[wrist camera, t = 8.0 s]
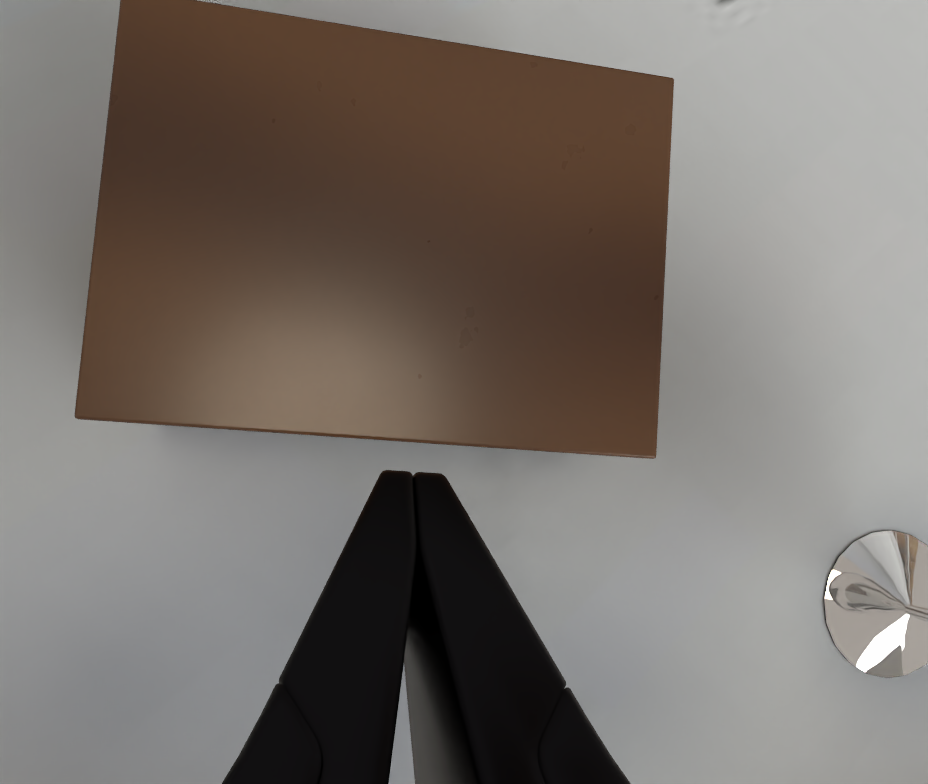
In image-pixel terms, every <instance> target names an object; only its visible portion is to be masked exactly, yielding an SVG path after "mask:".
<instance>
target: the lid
mask: <svg viewBox="0 0 928 784" xmlns="http://www.w3.org/2000/svg"><path fill="white" fill-rule="evenodd" d="M673 87H674V79H673V78H669V77H663V76H657V75H651V74H645V73H638V72H632V71H626V70H620V69H614V68H608V67H602V66H595V65H589V64H583V63H577V62H571V61H565V60H559V59H553V58H546V57H540V56H534V55H528V54H522V53H516V52H510V51H503V50H497V49H491V48H485V47H479V46H473V45H467V44H460V43H454V42H448V41H442V40H436V39H430V38H424V37H417V36H411V35H405V34H399V33H393V32H387V31H381V30H375V29H368V28H362V27H356V26H350V25H344V24H338V23H332V22H325V21H319V20H313V19H307V18H301V17H295V16H289V15H282V14H276V13H270V12H264V11H258V10H252V9H246V8H239V7H233V6H227V5H221V4H215V3H209V2H203V1H197V0H121V1H120V10H119V19H118V28H117V37H116V46H115V55H114V64H113V73H112V82H111V91H110V100H109V109H108V118H107V127H106V136H105V145H104V154H103V163H102V172H101V181H100V190H99V200H98V209H97V218H96V227H95V236H94V245H93V254H92V263H91V272H90V281H89V290H88V299H87V308H86V317H85V326H84V335H83V344H82V353H81V362H80V371H79V380H78V389H77V398H76V407H75V418H77V419H84V420H98V421H113V422H127V423H142V424H156V425H171V426H185V427H200V428H214V429H229V430H243V431H258V432H272V433H287V434H301V435H316V436H330V437H345V438H359V439H374V440H388V441H402V442H417V443H431V444H446V445H460V446H475V447H489V448H504V449H518V450H533V451H547V452H562V453H576V454H591V455H605V456H620V457H634V458H649V459H654V458H656V448H657V427H658V405H659V384H660V363H661V342H662V320H663V299H664V278H665V257H666V236H667V214H668V193H669V172H670V151H671V129H672V108H673Z"/></svg>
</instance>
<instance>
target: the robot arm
mask: <svg viewBox="0 0 928 784" xmlns="http://www.w3.org/2000/svg"><path fill="white" fill-rule="evenodd" d="M403 664H404V666H405V677H406V688H407V699H408V710H409V721H410V732H411V742H412V753H413V764H414V775H415V784H631V783H630V782H629V781H628V779H627V778H626V776H625V775H624V773H623V772H622V771H621V769H620V768H619V766H618V765H617V763H616V762H615V761H614V759H613V758H612V756H611V755H610V753H609V752H608V750H607V749H606V747H605V745H604V744H603V742H602V741H601V739H600V737H599V736H598V734H597V733H596V731H595V729H594V728H593V726H592V725H591V723H590V721H589V720H588V718H587V717H586V715H585V713H584V712H583V710H582V708H581V706H580V705H579V703H578V701H577V700H576V698H575V696H574V694H573V693H572V691H571V689H570V688H565V686H566V681H565V680H564V678H563V676H562V674H561V673H560V671H559V669H558V668H557V666H556V664H555V662H554V661H553V659H552V657H551V656H550V654H549V652H548V651H547V649H546V647H545V645H544V644H543V642H542V640H541V639H540V637H539V635H538V633H537V632H536V630H535V628H534V627H533V625H532V623H531V622H530V620H529V618H528V616H527V615H526V613H525V611H524V610H523V608H522V606H521V604H520V603H519V601H518V599H517V598H516V596H515V594H514V592H513V591H512V589H511V587H510V586H509V584H508V582H507V581H506V579H505V577H504V575H503V574H502V572H501V570H500V569H499V567H498V565H497V563H496V562H495V560H494V558H493V557H492V555H491V553H490V552H489V550H488V548H487V546H486V545H485V543H484V541H483V540H482V538H481V536H480V534H479V533H478V531H477V529H476V528H475V526H474V524H473V523H472V521H471V519H470V517H469V516H468V514H467V512H466V511H465V509H464V507H463V505H462V504H461V502H460V500H459V499H458V497H457V495H456V494H455V492H454V490H453V488H452V487H451V485H450V483H449V482H448V480H447V478H446V477H445V476H444V475H442V474H439V473H424V472H417V473H415V474H414V475H413V476H412V474H411V473H410V472H407V471H392V470H385V471H383V472H382V473H381V474H380V476H379V478H378V480H377V482H376V484H375V486H374V488H373V490H372V492H371V494H370V496H369V498H368V500H367V502H366V504H365V506H364V508H363V510H362V512H361V514H360V516H359V518H358V520H357V522H356V524H355V526H354V528H353V530H352V532H351V534H350V536H349V538H348V541H347V543H346V545H345V547H344V549H343V551H342V553H341V555H340V557H339V559H338V561H337V563H336V565H335V567H334V569H333V571H332V573H331V575H330V577H329V579H328V581H327V583H326V585H325V587H324V589H323V591H322V593H321V595H320V597H319V599H318V601H317V603H316V605H315V607H314V609H313V611H312V613H311V615H310V617H309V619H308V621H307V623H306V625H305V627H304V629H303V632H302V634H301V636H300V638H299V640H298V642H297V644H296V646H295V648H294V650H293V652H292V654H291V656H290V658H289V660H288V662H287V664H286V666H285V668H284V670H283V672H282V674H281V676H280V678H279V684H276V685H275V687H274V689H273V691H272V693H271V695H270V697H269V699H268V701H267V703H266V705H265V707H264V709H263V711H262V713H261V715H260V717H259V719H258V721H257V723H256V725H255V726H254V728H253V730H252V732H251V734H250V736H249V738H248V740H247V741H246V743H245V745H244V747H243V749H242V751H241V753H240V754H239V756H238V758H237V759H236V761H235V763H234V764H233V766H232V768H231V769H230V771H229V773H228V774H227V776H226V777H225V779H224V781H223V782H222V784H388V782H389V774H390V766H391V758H392V750H393V743H394V735H395V727H396V719H397V711H398V703H399V695H400V687H401V680H402V672H403ZM564 688H565V689H564Z"/></svg>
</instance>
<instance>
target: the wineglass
mask: <svg viewBox="0 0 928 784" xmlns="http://www.w3.org/2000/svg"><path fill="white" fill-rule="evenodd" d="M824 602H825V612H826V623H827V626H828V628H829V631H830V633H831V636H832V638H833V641H834V643H835V646H836V647H837V648H838V649H839V650H840V652H841V653H842V654H843V655H844V657H845V658H846V659H847V660H848V662H849V663H851V664H853V665H854V666H856V667H857V668H859V669H860V670H862V671H864V672H865V673H867V674H871V675H876V676H880V677H885V678H890V677H897V676H903V675H908V674H910V673H912V672H913V671H915V670H917V669H919V668H921V667H922V666H924V665H926V664H927V662H928V546H927V545H925V544H924V543H922V542H921V541H919V540H918V539H916V538H915V537H913V536H912V535H908V534H904V533H900V532H896V531H883V532H874V533H871V534H869V535H867V536H865V537H863V538H861V539H859V540H857V541H855V542H853V543H852V544H851V545H850V546H849V547H848V548H847V549H846V550H845V551H844V552H843V553H842V554H841V555H840V556H839V558H838V560H837V562H836V564H835V566H834V568H833V570H832V572H831V574H830V575H829V578H828V583H827V588H826V594H825V599H824Z"/></svg>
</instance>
